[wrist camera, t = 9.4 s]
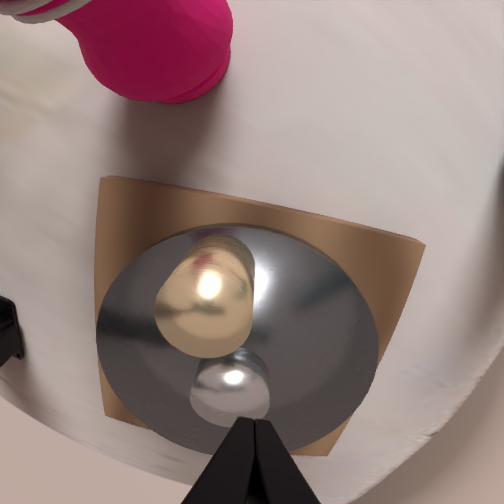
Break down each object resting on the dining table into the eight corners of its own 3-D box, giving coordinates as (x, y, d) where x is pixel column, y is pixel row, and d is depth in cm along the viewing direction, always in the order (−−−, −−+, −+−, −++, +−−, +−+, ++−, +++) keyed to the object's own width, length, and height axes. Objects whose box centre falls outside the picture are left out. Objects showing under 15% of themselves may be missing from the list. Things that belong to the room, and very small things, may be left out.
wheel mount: (111, 404, 24) (105, 415, 22) (111, 175, 18) (100, 177, 17) (325, 444, 24) (327, 456, 23) (415, 238, 19) (425, 244, 17)
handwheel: (354, 434, 22) (370, 499, 15) (143, 436, 23) (120, 496, 16) (382, 215, 16) (443, 250, 10) (79, 234, 17) (9, 272, 11)
